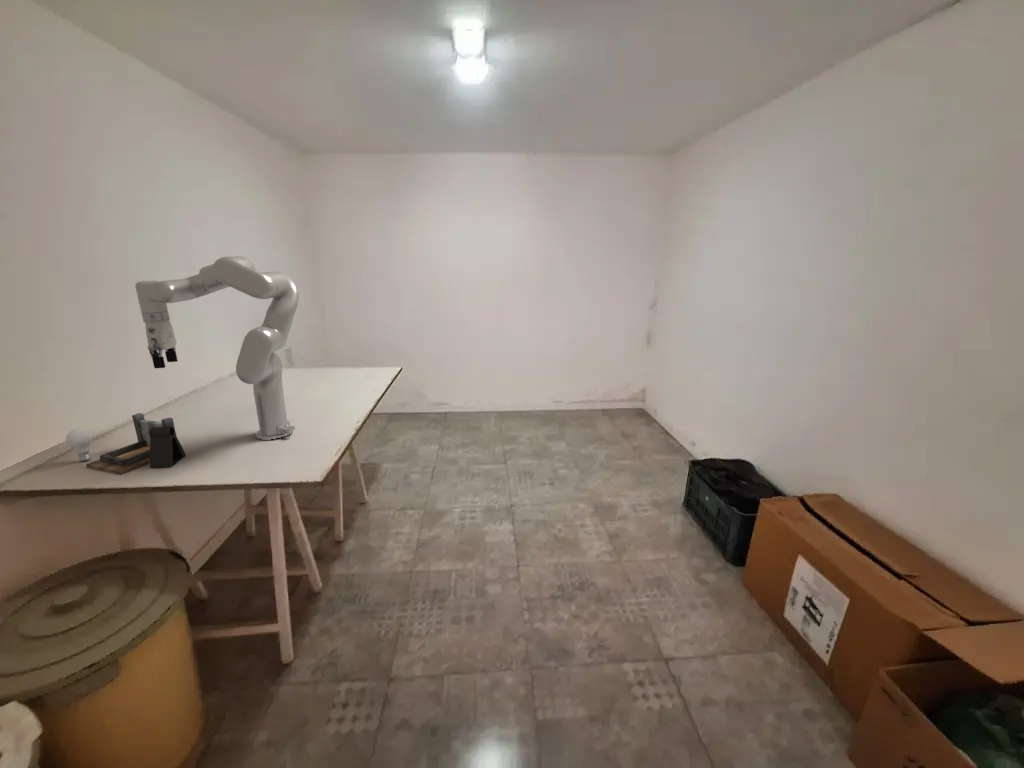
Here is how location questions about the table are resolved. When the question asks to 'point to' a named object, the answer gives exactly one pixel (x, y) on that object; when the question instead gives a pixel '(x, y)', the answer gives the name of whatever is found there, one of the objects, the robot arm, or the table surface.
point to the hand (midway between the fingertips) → (166, 364)
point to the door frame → (131, 448)
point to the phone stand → (164, 447)
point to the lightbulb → (80, 442)
